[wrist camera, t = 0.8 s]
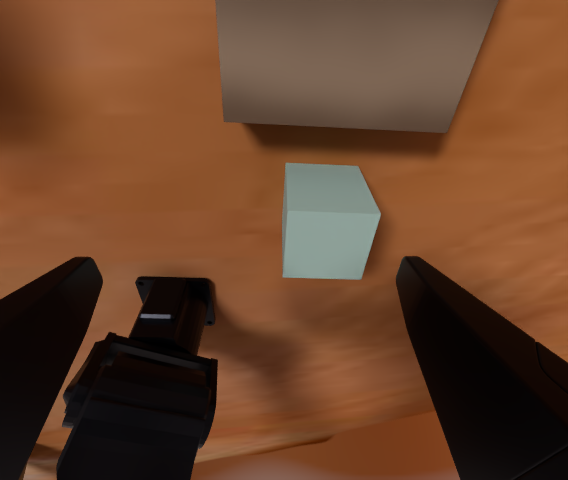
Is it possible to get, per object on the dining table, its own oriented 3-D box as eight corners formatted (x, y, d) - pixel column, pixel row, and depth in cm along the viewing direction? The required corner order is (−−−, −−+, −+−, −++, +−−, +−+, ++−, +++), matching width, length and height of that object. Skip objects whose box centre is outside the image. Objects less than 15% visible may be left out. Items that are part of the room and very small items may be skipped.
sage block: (345, 224, 24) (360, 279, 19) (282, 222, 24) (282, 277, 19) (358, 165, 21) (380, 214, 16) (285, 162, 21) (287, 210, 16)
